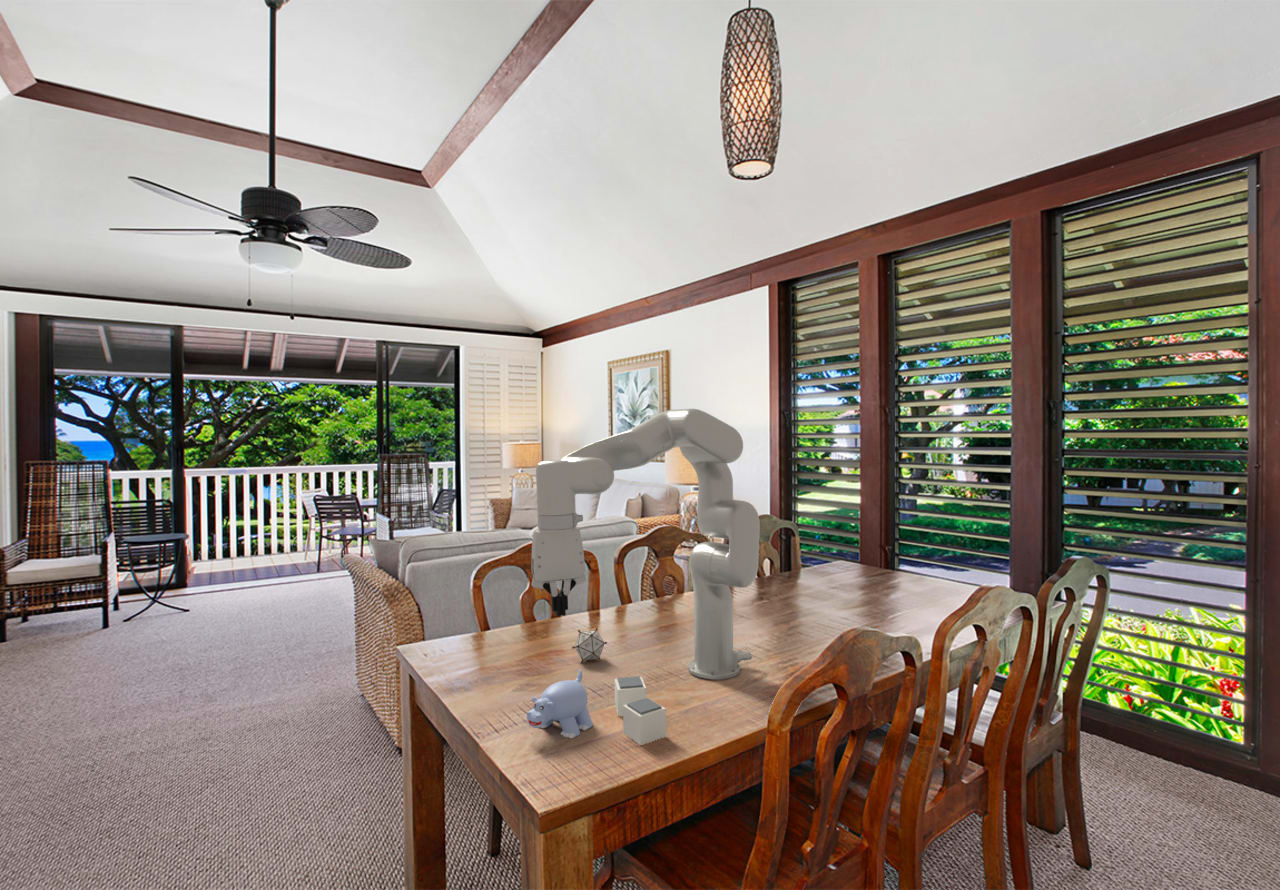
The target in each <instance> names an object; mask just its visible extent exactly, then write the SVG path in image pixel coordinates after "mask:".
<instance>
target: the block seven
mask: <svg viewBox="0 0 1280 890" xmlns="http://www.w3.org/2000/svg"><path fill="white" fill-rule="evenodd" d="M622 719H623V722H622V726H623V727H622V728H623V729H622V730H623V731H622V732H623V733H624V735H625V734H626V735H627V736H626V735H625V736H626V737H628V738H629V737H630V738H631V740H632V739H633V740H634V741H635V743H636V742H637V743H638V744H639V745H638V744H637V743H636V744H637V745H638V746H640V745H642V746H644V745H643V744H645V743H647V744H650V743H652V741H653V742H656V741H658V740H657V739H659V740H661V739H660V738H662V739H664V737H665V738H667V709H666V708H665V707H664V706H662V705H661V704H659V703H658V702H656V701H654V700H652V699H651V698H649V697H646V698H645V699H642V700H638V701H635V702H631V703H628V704H626V705H623V716H622ZM630 738H629V739H630ZM633 740H632V741H633ZM655 740H656V741H655ZM634 741H633V742H634ZM649 742H650V743H649ZM645 745H646V744H645Z"/></svg>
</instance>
